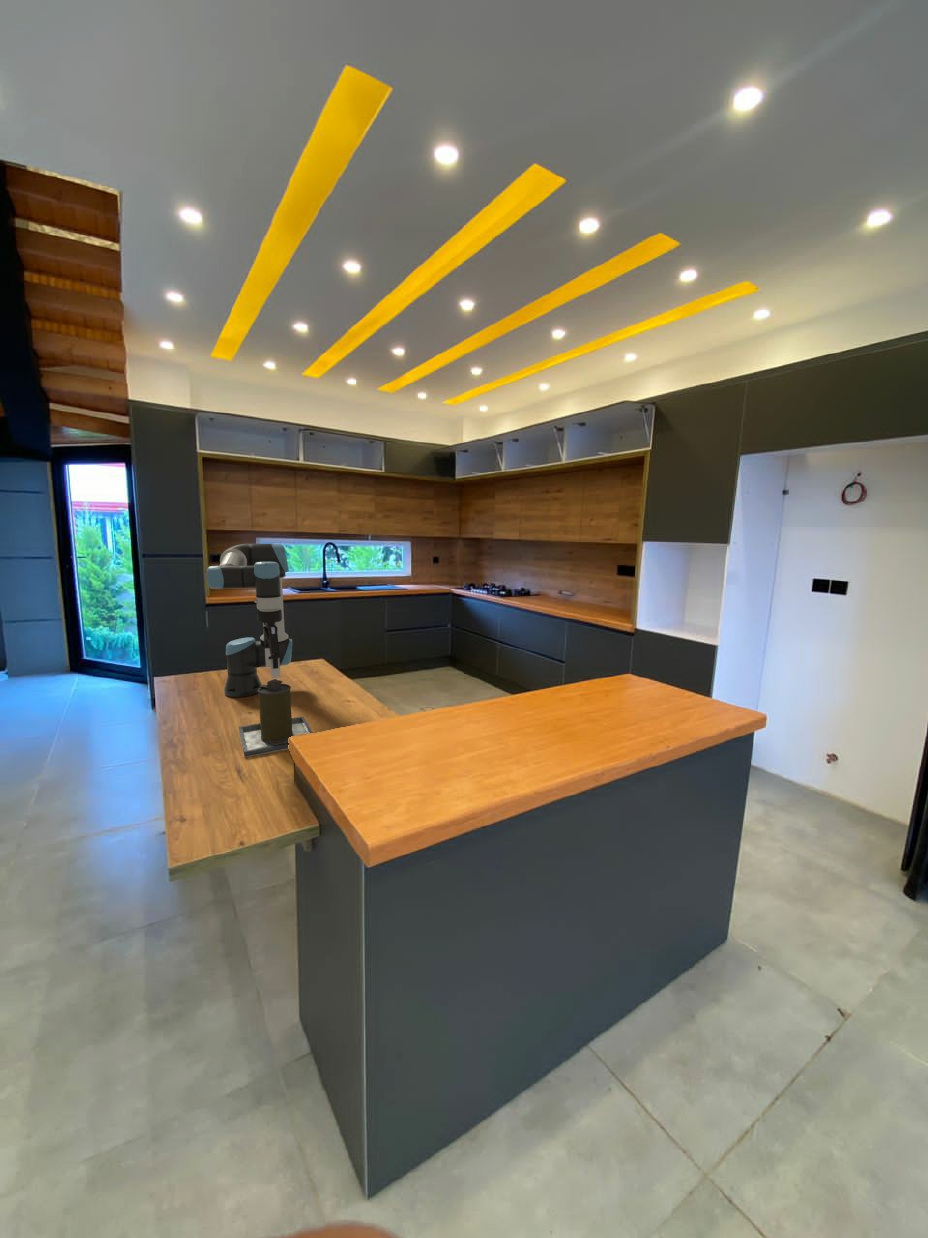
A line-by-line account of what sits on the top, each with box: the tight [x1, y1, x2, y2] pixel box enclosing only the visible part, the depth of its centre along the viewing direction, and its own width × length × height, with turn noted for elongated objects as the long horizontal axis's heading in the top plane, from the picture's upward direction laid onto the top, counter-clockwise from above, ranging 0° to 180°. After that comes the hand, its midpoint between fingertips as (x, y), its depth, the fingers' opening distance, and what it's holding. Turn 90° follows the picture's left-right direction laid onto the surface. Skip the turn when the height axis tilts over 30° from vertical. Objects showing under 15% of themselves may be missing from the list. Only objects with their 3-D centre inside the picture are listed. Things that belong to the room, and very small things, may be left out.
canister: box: [258, 678, 293, 743], centre depth 164 cm, size 11×10×20 cm
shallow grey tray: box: [238, 715, 314, 758], centre depth 166 cm, size 22×22×2 cm
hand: (272, 671), depth 162 cm, fingers open, 13 cm apart
